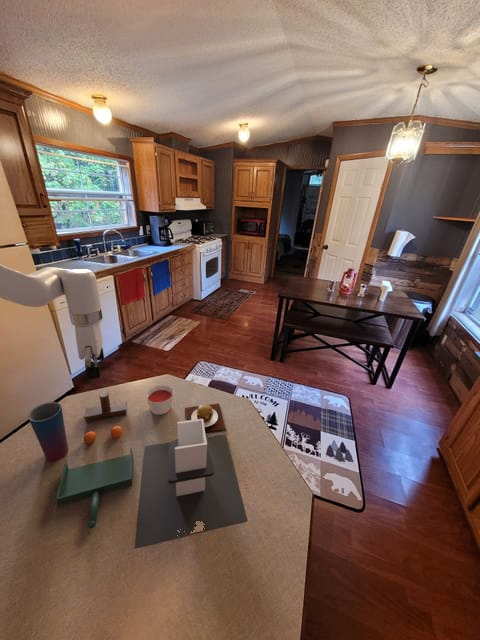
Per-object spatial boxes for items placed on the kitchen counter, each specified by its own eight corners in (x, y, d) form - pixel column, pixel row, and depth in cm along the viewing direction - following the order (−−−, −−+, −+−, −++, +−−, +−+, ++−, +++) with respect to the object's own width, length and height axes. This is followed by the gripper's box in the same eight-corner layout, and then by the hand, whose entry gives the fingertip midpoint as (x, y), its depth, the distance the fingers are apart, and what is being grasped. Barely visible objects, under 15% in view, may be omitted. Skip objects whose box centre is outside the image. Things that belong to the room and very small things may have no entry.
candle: (142, 407, 88) (140, 393, 85) (164, 395, 94) (163, 381, 92) (157, 421, 83) (156, 406, 80) (179, 407, 89) (179, 393, 87)
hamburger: (218, 404, 92) (219, 392, 90) (225, 430, 82) (226, 417, 80) (185, 408, 89) (185, 396, 87) (188, 435, 79) (187, 422, 76)
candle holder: (144, 446, 74) (140, 402, 68) (225, 434, 80) (229, 392, 74) (134, 548, 52) (126, 497, 46) (247, 520, 58) (254, 472, 52)
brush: (87, 414, 83) (83, 393, 80) (127, 407, 88) (124, 387, 84) (85, 423, 80) (80, 402, 77) (126, 415, 84) (124, 394, 81)
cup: (37, 466, 66) (22, 423, 60) (47, 445, 72) (35, 403, 66) (67, 461, 68) (55, 419, 62) (75, 441, 74) (65, 400, 68)
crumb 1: (82, 445, 73) (80, 437, 71) (88, 436, 76) (87, 428, 74) (92, 446, 73) (91, 438, 71) (99, 437, 76) (97, 429, 74)
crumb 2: (109, 439, 75) (107, 431, 74) (114, 431, 78) (113, 423, 77) (119, 440, 75) (118, 432, 74) (124, 432, 78) (123, 424, 77)
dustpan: (67, 470, 66) (65, 463, 65) (132, 454, 71) (131, 447, 70) (48, 546, 51) (45, 538, 50) (132, 518, 57) (131, 511, 56)
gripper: (76, 305, 75) (87, 355, 82) (62, 330, 60) (76, 388, 67) (105, 304, 78) (112, 352, 84) (98, 327, 63) (107, 383, 70)
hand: (96, 368), depth 76 cm, fingers open, 9 cm apart
